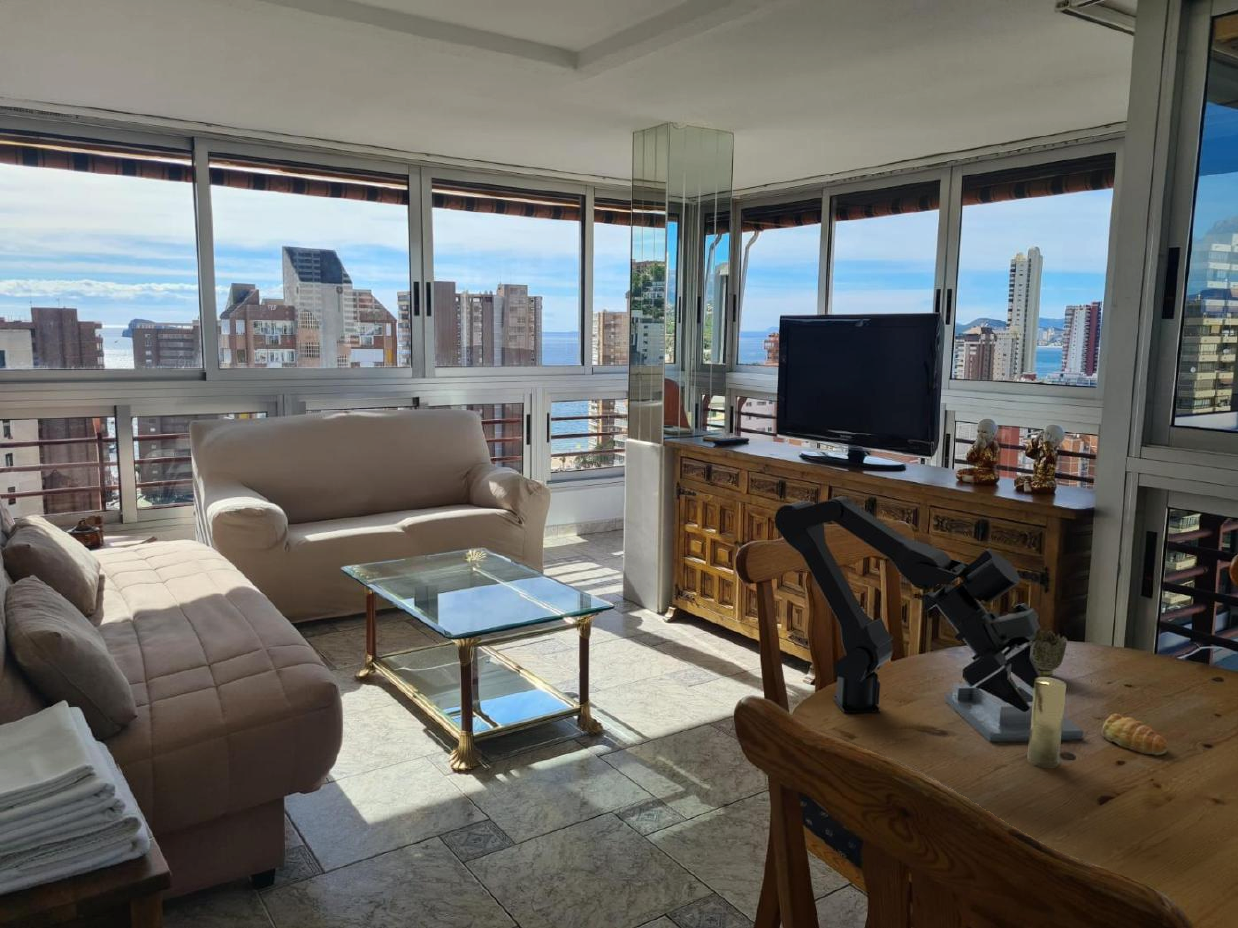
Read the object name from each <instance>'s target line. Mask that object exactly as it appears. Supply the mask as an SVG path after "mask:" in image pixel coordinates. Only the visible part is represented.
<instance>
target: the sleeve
mask: <svg viewBox="0 0 1238 928" xmlns="http://www.w3.org/2000/svg"><path fill="white" fill-rule="evenodd" d="M1033 690H1034V693H1033V703H1032V714H1031V724H1030V735H1029V741H1028V746H1027V747H1028V749H1027V756H1026V757H1027V761H1028V762H1029V763H1030V764H1031V765H1033V766H1035V767H1037V768H1041V769H1050V770H1051V769H1055V768H1057V767H1059V761H1060V750H1061V743H1062V742H1061V741H1062V740H1061V733H1062V723H1063V716H1064V712H1065V701H1066V693H1067V684H1066V682H1065V681H1063V680H1060V679H1058V678H1054V677H1038V678H1036V679H1035V682H1034V689H1033Z"/></svg>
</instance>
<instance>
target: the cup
mask: <svg viewBox="0 0 1238 928" xmlns="http://www.w3.org/2000/svg"><path fill="white" fill-rule="evenodd" d="M1034 636H1035V638H1034V639H1032V640H1031V641H1030V642H1028V643H1026V645H1029V644H1031V643H1032V642H1035V645H1034V648H1033V654H1032V657H1033V660H1034V662H1035V665H1036V667H1037V669H1038V671H1039V674H1040V676H1041V677H1050V678H1052V676H1053V675H1054V670H1057V669H1059V668H1060V666H1061V664H1062V663H1063V660H1064V656H1065V653H1066V649H1067V644H1068V638H1067V637H1065V635H1064V636H1062V637H1061V635H1060V633H1058V634H1057V635H1056V634H1055V633H1054V632H1053V631H1051V630H1049V631H1047V632H1046V631H1045V630H1041V631H1040V633H1036V634H1034Z"/></svg>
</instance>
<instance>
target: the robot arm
mask: <svg viewBox="0 0 1238 928" xmlns="http://www.w3.org/2000/svg"><path fill="white" fill-rule="evenodd" d="M830 522H834V523H836V524H837V525H838V526H840V527H841V528H843V529H845V530H846V531H847V532H849V533H851V534H852V535H853V536H855V537H856V538H858V539H859V540H861V541H862V542H864V543H865V544H866V545H868V546H870V547H872V549H874V550H876V551H877V552H879V553H880V554H882V555H883V556H885V557H886V558H887V559H888V560H890V562H891V563H893V565H894V566H895V568H896V569H897V571H898V572H899V574H900V575H902V577H904V578H905V579H906V580H907V581H908V582H909V583H910V584H911V585H912V586H913V587H915V588H917V589H919V590H922V591H926V590H927V591H928V590H933V589H934V588H936V587H938V586H939V585H940V586H941V585H944V586H943V587H941V588H940V589H939V590H937V591H936V592H933V591H928V592H927V593H925V594H924V603H923V606H922V607H923V608H922V609H923V611H924V612H928V611H929V610H931V609H933V608H934V607H937V609H938V610H939V611H940V612H941V613H942V615H943V616H944V617H945V619H946V620H947V621H948V622H949V623H950V624H951V626H952V627H953V628H954V629H955V630H954V631H956V632H957V634H955V635H954V637H955V639H956V640H957V641H958V642H960V641H961V640H963V641H964V642H965V644H966V645H967V646H968V647H969V648H970V650H971V651H972V652H973V653H974V655H973V656H972V657H971V659H972V661H971V662H970V663H968V664H967V665H966V666H965V667H964V668H963V669H962V678H963V680H964V681H965V683H966V684H968V685H969V686H970V687H972V686H973V685H975V684H977V683H979V684H978V685H977V686H975V687H976V688H977V689H979V688H980V689H982V690H984V691H986V692H988V693H990V694H992V695H994V696H996V697H998V698H1000V699H1001V700H1003V701H1005V702H1007V703H1009V704H1010V705H1012V706H1014V707H1016V708H1018V709H1019V710H1021V711H1023V712H1026V711H1028V710H1029V709H1030V707H1029V705H1028V703H1027V701H1026V700H1025V698H1024V696H1023V695H1022V693H1021V692H1020V690H1019V689H1018V687H1017V686H1016V684H1015V683H1016V682H1015V680H1014V679H1013V678H1012V676H1011V675H1013V674H1014V676H1016V677H1017V678H1019V679H1020V680H1021V682H1025V683H1026V684H1028V685H1029V686H1030V687H1032V688H1033V690H1034V682H1035V679H1036V678H1038V677H1041V676H1040V674H1039V671H1038V669H1037V667H1036V665H1035V662H1034V660H1033V657H1032V654H1033V648H1034V645H1035V642H1032V643H1031V644H1029V645H1026V643H1028V642H1030V641H1031V640H1032V639H1034V638H1035V636H1034V634H1036V635H1037V632H1038V631H1040V630H1041V626H1040V624H1039V621H1038V618H1039V613H1038V612H1036V611H1035V608H1031V607H1030V606H1029V605H1028V604H1027V603H1026V602H1024V603H1018V604H1016V605H1015V606H1014V607H1012V608H1013V609H1012V613H1008V614H1007V615H1003V616H999V614H998V613H997V612H996V611H993V610H992V609H991V610H989V612H988V611H987V609H986V608H985V607H984V606H983V605H982V603H981V602H982V601H983V602H985V603H993V602H994V601H995V600H997V599H998V598H999V597H1001V596H1002V595H1004V594H1005V593H1007V592H1008V591H1010V590H1011V589H1012V588H1014V587H1015V586H1017V585H1018V584H1020V581H1021V577H1020V575H1019V573H1018V571H1017V569H1016V568H1015V567H1014V565H1013V564H1012V563H1011V562H1010V561H1008V560H1007V559H1006V558H1004V557H1003V556H1001V555H999V554H997V553H996V552H995V551H994V550H993V549H992V548H988V549H986V550H985V551H983V552H982V553H981V554H980V555H978V557H977V558H976V559H975V560H973V561H972V562H971V563H967V562H964V561H961V560H957V559H953V558H951V557H950V556H949V554H948V553H946V552H945V551H943V550H941V549H939V548H938V547H934V546H932V545H930V544H928V543H925V542H921V541H918V540H913V539H910V538H908V537H906V536H905V535H903V534H901V533H900V532H898V531H897V530H895V529H894V528H892V527H891V526H889V525H888V524H886V523H884V522H883V521H882V520H880V519H878V518H877V517H875V516H874V515H873V514H871V513H869V512H868V511H866V510H864V508H862V507H860V506H859V505H857V504H856V503H854V502H853V501H852V500H851V499H850V498H849V497H847V496H845V495H843V496H841V495H840V496H837V497H833V498H830V499H828V500H823V501H820V502H815V503H813V502H811V501H808V500H799V501H795V502H792V503H788V504H786V505H782V506H781V507H779V508H778V509H777V510H776V513H775V516H774V520H773V523H774V525H775V528H776V530H777V531H778V533H779V534H780V536H781V537H782V538H783V540H784V541H785V542H786V543H787V544H788V545H789V546H790V547H792V548H793V549H794V550H795V551H796V552H798V553H799V554H800V555H801V556H802V558H803V560H804V562H805V563H806V566H807V567H808V569H809V571H810V572H811V574H812V576H813V579H814V580H815V581H816V582H815V583H816V584H817V585H818V587H819V589H820V591H821V593H822V594H823V597H824V598H825V600H826V602H827V604H828V606H829V607H830V609H831V611H832V613H833V616H834V617H835V618H836V620H837V622H838V625H839V627H840V635H841V644H842V647H843V650H844V654H845V655H844V656H842V657H841V658H839V659H838V660H837V661H835V662H834V663H832V666H833V667H832V668H833V671H834V675H835V677H837V682H836V683H837V684H836V695H833V696H832V699H833V701H834V702H835V703H836V705H837V706H838V707H839V708H840V709H841V710H842V712H843V713H846V714H858V713H859V714H860V713H862V714H863V713H865V714H866V713H880V712H881V708H880V707H879V704H880V695H881V682H880V681H879V674H878V673H877V672H876V671H878V670H880V669H881V668H882V666H883V665H884V664H885V663H887V662H888V661H889V660H890V659H891V658H892V656H893V651H894V644H893V642H892V640H893V639H894V636H892V635H891V634H890V633H889V631H888V630H887V628H886V625H885V622H884V620H883V619H882V618H881V617H878V618H877V619H876V620H873V619H872V618H871V617H870V616H869V615H867V614H866V613H865V611H864V609H863V608H862V605H861V603H860V602H859V600H858V599H857V597H856V595H855V593H854V592H853V590H852V588H851V586H850V584H849V582H848V581H847V578H846V577H845V575H844V573H843V571H842V570H841V568H840V566H839V565H838V563H837V561H836V559H835V558H834V555H833V554H832V551H831V549H830V548H829V546H828V545H827V542H826V535H825V525H824V524H825V523H830ZM958 579H961V582H959V583H958V584H957V585H953V584H951V583H954V582H955V581H957V580H958ZM1011 673H1012V674H1011Z"/></svg>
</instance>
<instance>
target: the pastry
mask: <svg viewBox="0 0 1238 928" xmlns="http://www.w3.org/2000/svg"><path fill="white" fill-rule="evenodd" d="M1101 735H1103V737H1104V738H1106V740H1107V741H1108V742H1110V743H1112V742H1114V743H1115V744H1116V745H1118V746H1120V747H1123V748H1124V749H1125V748H1126V749H1129V750H1131V751H1135V752H1138V753H1142V754H1144V755H1145V754H1146V755H1153V756H1160V755H1163V754H1166V753H1167V751H1168V749H1169V747H1170V743H1169V742H1168V741H1167V740H1166V739H1165V737H1163V736H1162V735H1161V734H1160V733H1159V732H1157V731H1155V730H1154V728H1153V727H1150V726H1147V725H1145V723H1144V722H1143V721H1140V720H1135V719H1134V718H1133V717H1124V716H1122V715H1121V714H1119V713H1114V714H1113V713H1112V714H1111V715H1109V717H1108V718H1106V720H1105V722H1104V723H1103V726H1102V728H1101Z"/></svg>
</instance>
